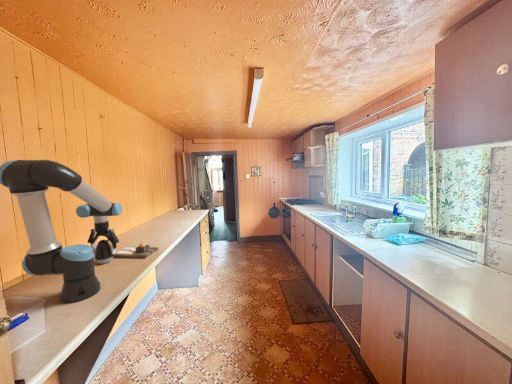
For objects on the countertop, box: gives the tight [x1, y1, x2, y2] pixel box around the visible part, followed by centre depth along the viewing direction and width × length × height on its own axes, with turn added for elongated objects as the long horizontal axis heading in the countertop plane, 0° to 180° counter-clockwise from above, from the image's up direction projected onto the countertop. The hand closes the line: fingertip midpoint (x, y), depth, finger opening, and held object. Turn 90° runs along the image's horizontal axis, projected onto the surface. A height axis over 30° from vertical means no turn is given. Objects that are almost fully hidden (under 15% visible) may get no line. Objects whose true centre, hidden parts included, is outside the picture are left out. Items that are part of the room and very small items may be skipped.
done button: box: [138, 242, 147, 248], centre depth 150 cm, size 4×4×3 cm
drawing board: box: [112, 244, 159, 259], centre depth 151 cm, size 16×25×6 cm, turn 85°
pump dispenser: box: [94, 238, 114, 265], centre depth 137 cm, size 10×10×15 cm
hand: (104, 253), depth 137 cm, fingers open, 13 cm apart
